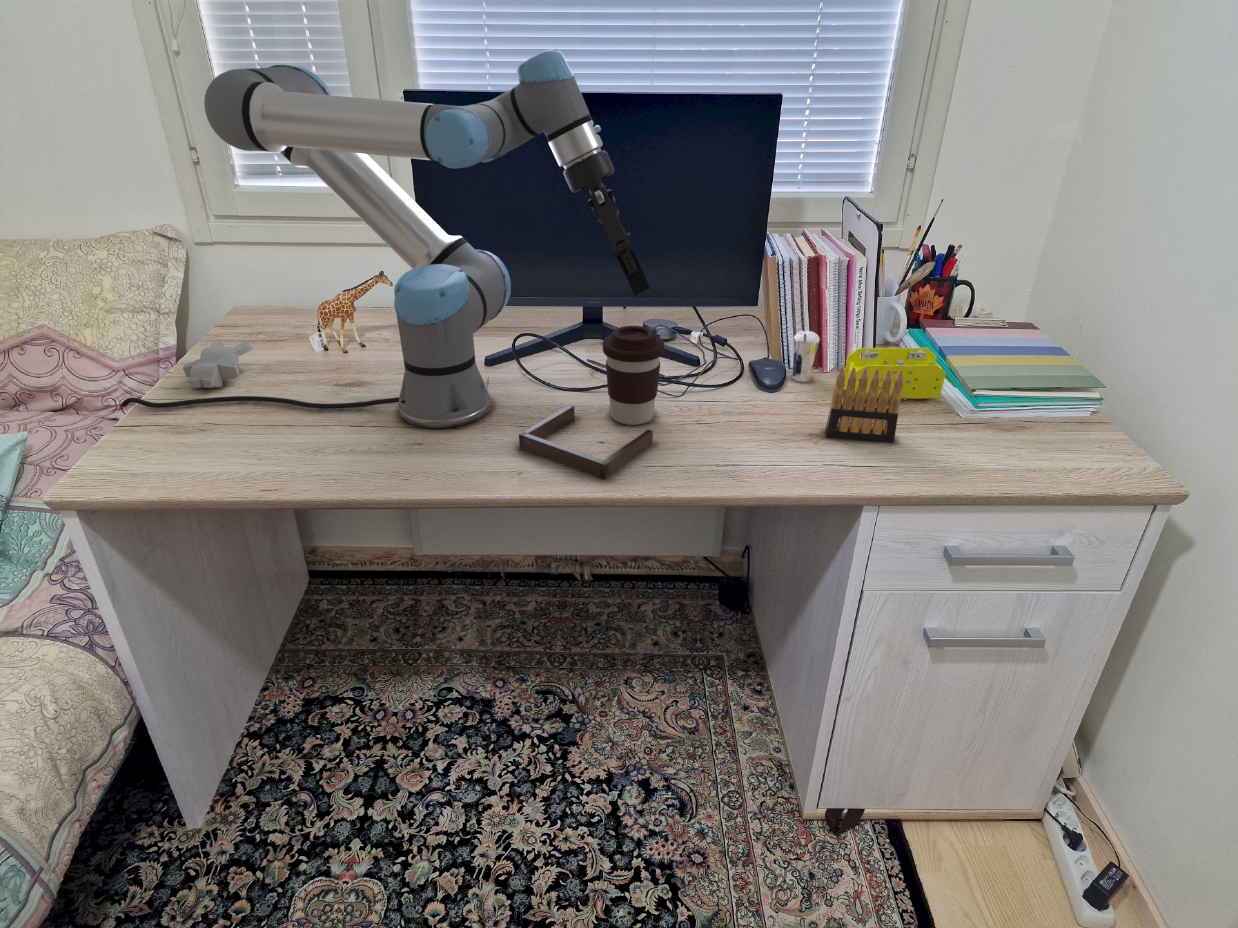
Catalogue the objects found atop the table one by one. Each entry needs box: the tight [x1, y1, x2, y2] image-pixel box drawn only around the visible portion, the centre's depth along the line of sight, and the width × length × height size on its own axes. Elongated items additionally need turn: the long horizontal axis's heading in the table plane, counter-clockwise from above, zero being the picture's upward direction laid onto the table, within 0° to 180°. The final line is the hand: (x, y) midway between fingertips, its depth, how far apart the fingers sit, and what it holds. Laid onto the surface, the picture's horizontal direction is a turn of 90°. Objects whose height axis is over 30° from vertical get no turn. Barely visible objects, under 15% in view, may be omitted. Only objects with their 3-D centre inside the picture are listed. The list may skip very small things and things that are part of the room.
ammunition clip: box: [824, 366, 903, 444], centre depth 120 cm, size 11×2×12 cm, turn 80°
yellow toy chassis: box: [843, 347, 946, 401], centre depth 135 cm, size 16×6×8 cm, turn 91°
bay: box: [518, 404, 654, 480], centre depth 119 cm, size 13×16×2 cm
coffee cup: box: [602, 325, 665, 426], centre depth 125 cm, size 10×10×15 cm
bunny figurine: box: [182, 341, 254, 389], centre depth 141 cm, size 10×5×15 cm
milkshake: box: [792, 330, 821, 383], centre depth 140 cm, size 5×5×10 cm
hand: (640, 285), depth 125 cm, fingers open, 13 cm apart
